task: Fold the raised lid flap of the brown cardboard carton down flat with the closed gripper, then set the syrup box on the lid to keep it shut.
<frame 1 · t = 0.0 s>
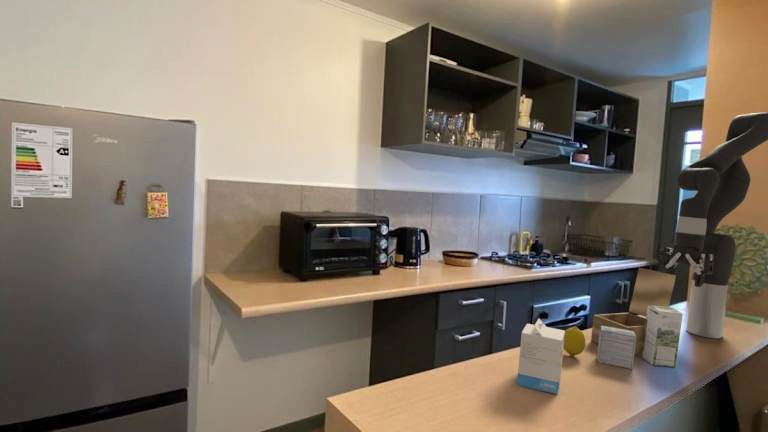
hand: (683, 283, 131), 17 cm above the counter, tool pointing down, fingers open, 8 cm apart
lid flap: (651, 294, 122), point 15 cm above the counter, hinge at 100.0°
medicine box: (614, 364, 107), on the counter
ink box: (538, 383, 93), on the counter
syrup box: (658, 363, 110), on the counter
lemon: (572, 357, 110), on the counter
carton: (624, 346, 120), on the counter
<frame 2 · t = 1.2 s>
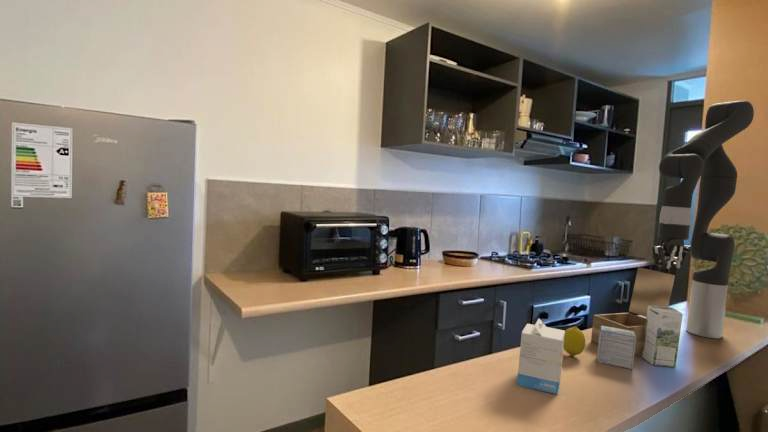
hand: (667, 280, 124), 19 cm above the counter, tool pointing down, fingers open, 3 cm apart
lid flap: (651, 293, 122), point 15 cm above the counter, hinge at 98.1°
everything else where it was.
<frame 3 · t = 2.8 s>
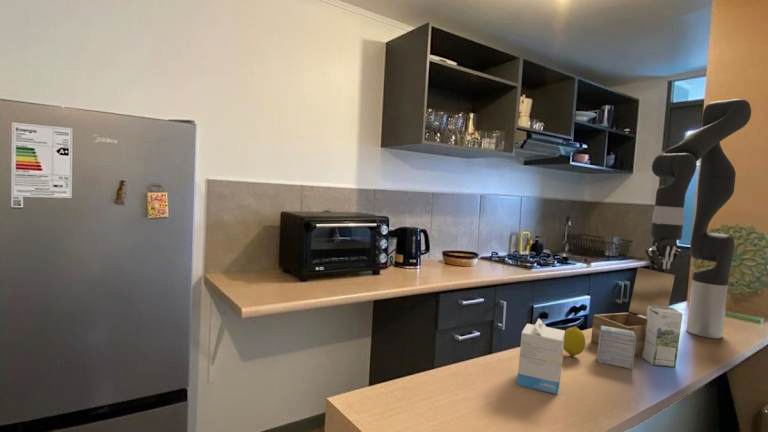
hand: (660, 281, 123), 19 cm above the counter, tool pointing down, fingers closed
lid flap: (650, 293, 122), point 15 cm above the counter, hinge at 97.9°, touching gripper
everything else where it was.
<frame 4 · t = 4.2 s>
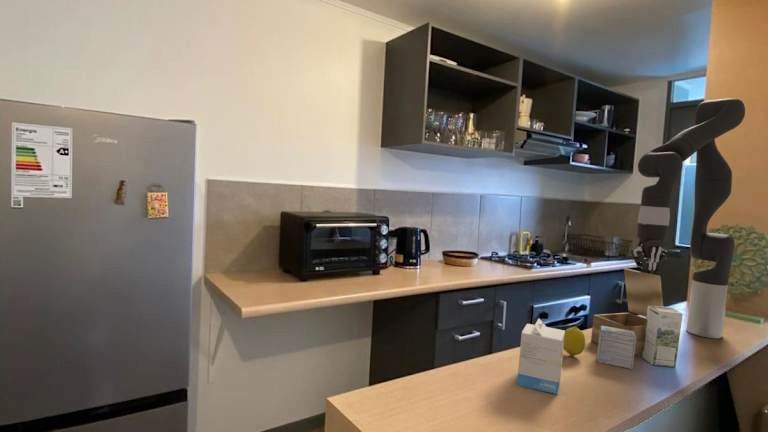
hand: (646, 282, 121), 19 cm above the counter, tool pointing down, fingers closed
lid flap: (643, 294, 121), point 15 cm above the counter, hinge at 72.9°, touching gripper
everything else where it was.
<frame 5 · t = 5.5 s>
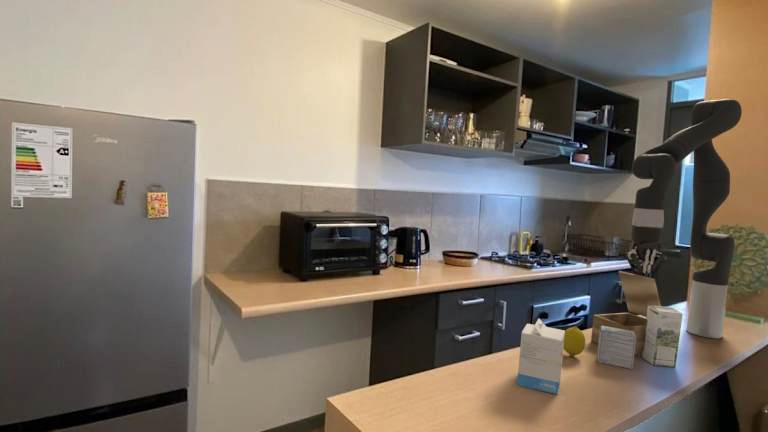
hand: (641, 285, 120), 18 cm above the counter, tool pointing down, fingers closed
lid flap: (640, 295, 120), point 15 cm above the counter, hinge at 63.4°, touching gripper
everything else where it was.
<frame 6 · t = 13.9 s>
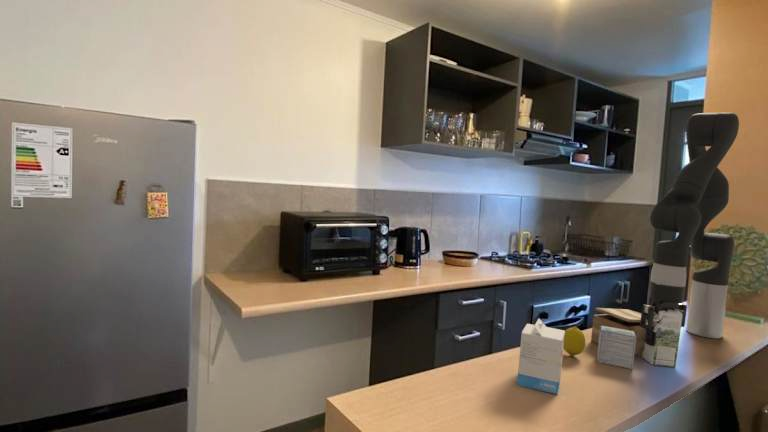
hand: (660, 343, 109), 5 cm above the counter, tool pointing down, fingers closed on syrup box, 7 cm apart
lid flap: (628, 315, 119), point 9 cm above the counter, hinge at 4.7°
syrup box: (658, 363, 110), on the counter, touching gripper
everything else where it was.
when the fingers open (16 cm above the counter, at t = 18.7 s): syrup box drops 1 cm, resting on lid flap.
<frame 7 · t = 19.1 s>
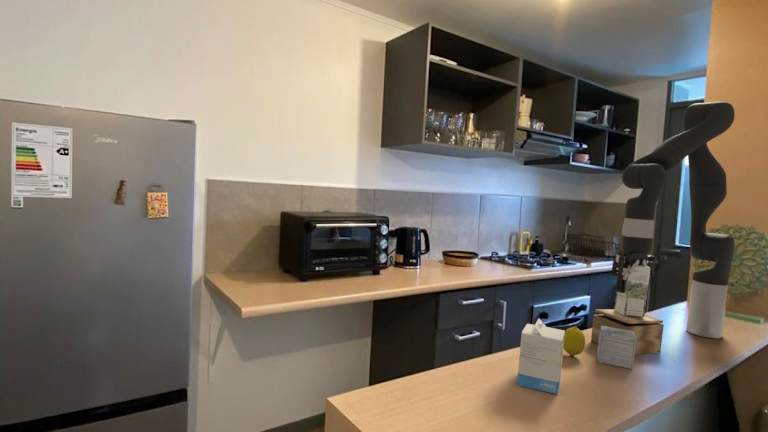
hand: (631, 291, 119), 16 cm above the counter, tool pointing down, fingers open, 8 cm apart
lid flap: (628, 316, 119), point 9 cm above the counter, hinge at 2.8°, touching syrup box
syrup box: (629, 315, 119), point 9 cm above the counter, touching gripper, lid flap
everything else where it was.
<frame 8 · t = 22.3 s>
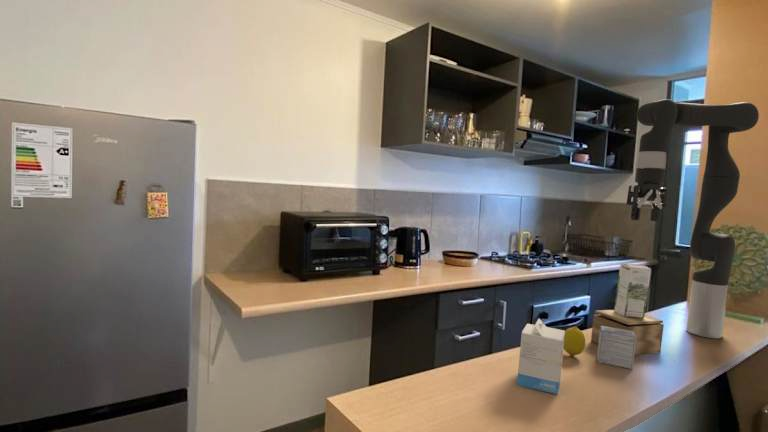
hand: (644, 220, 128), 36 cm above the counter, tool pointing down, fingers open, 8 cm apart
lid flap: (628, 316, 119), point 9 cm above the counter, hinge at 1.4°, touching syrup box
syrup box: (628, 315, 119), point 9 cm above the counter, touching lid flap
everything else where it was.
at the end: lid flap at +1° (first picture: +100°); syrup box inside the target area on the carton (0.3 cm from its centre), point 9.0 cm above the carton's base; syrup box tilted 1° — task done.
